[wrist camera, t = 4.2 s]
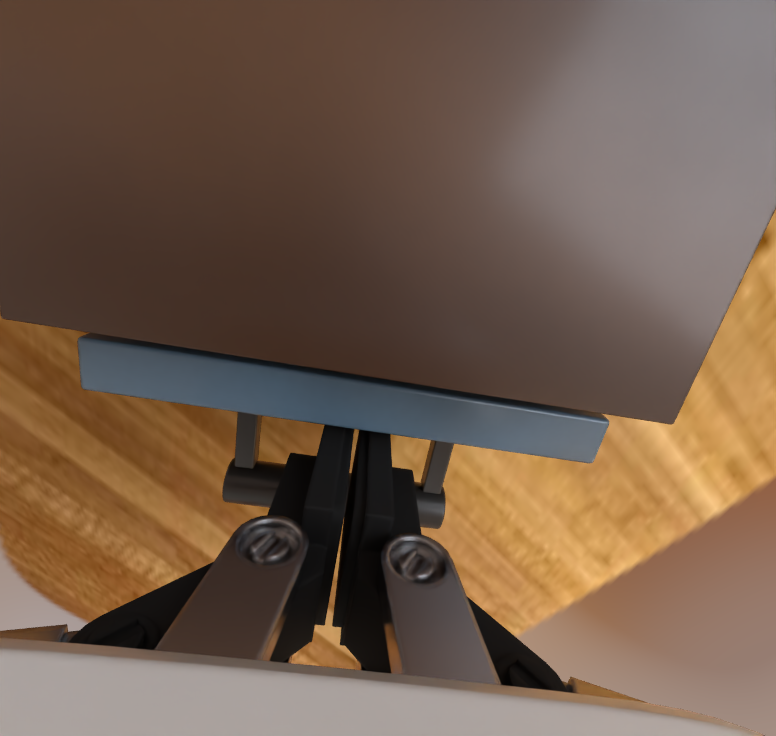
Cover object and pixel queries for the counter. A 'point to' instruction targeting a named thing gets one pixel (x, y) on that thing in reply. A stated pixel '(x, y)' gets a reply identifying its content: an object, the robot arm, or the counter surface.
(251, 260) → the cabinet
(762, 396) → the counter surface
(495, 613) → the counter surface
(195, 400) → the drawer
